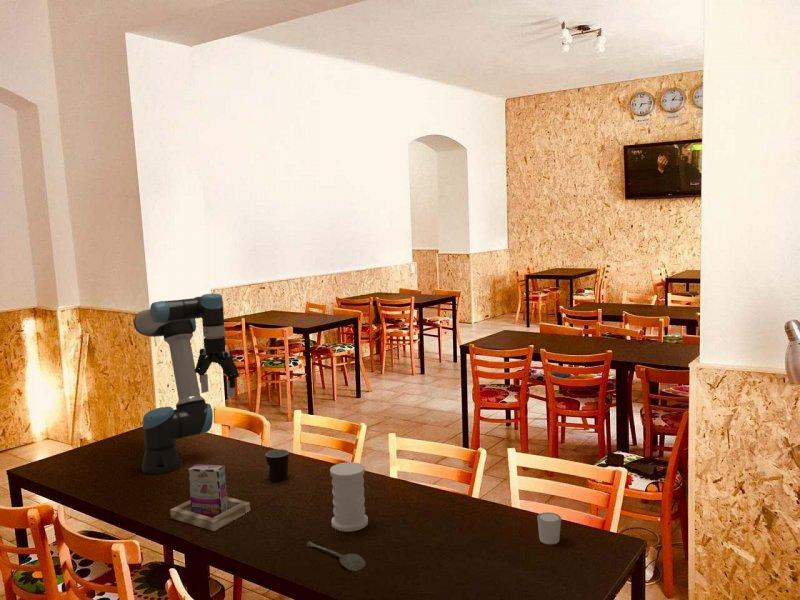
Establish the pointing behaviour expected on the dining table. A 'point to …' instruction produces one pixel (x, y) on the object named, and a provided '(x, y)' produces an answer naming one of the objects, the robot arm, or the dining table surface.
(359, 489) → the decorative container
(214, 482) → the candy bar box
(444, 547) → the dining table surface
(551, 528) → the shot glass
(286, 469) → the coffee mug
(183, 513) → the grey rectangular frame
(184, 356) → the robot arm
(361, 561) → the soupspoon
